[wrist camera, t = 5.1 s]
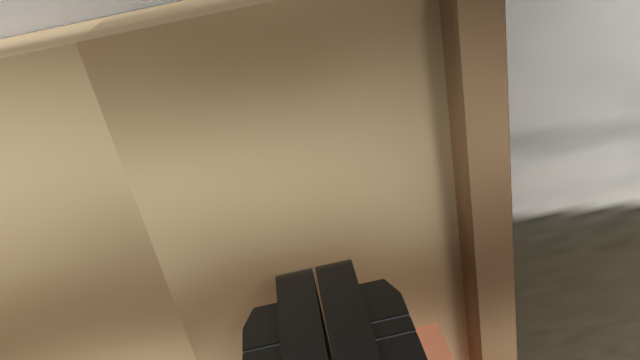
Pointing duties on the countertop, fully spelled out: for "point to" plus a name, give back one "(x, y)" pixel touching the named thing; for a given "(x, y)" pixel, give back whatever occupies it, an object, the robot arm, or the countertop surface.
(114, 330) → the trap track
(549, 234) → the countertop surface
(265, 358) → the robot arm
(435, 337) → the terracotta block
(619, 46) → the countertop surface
